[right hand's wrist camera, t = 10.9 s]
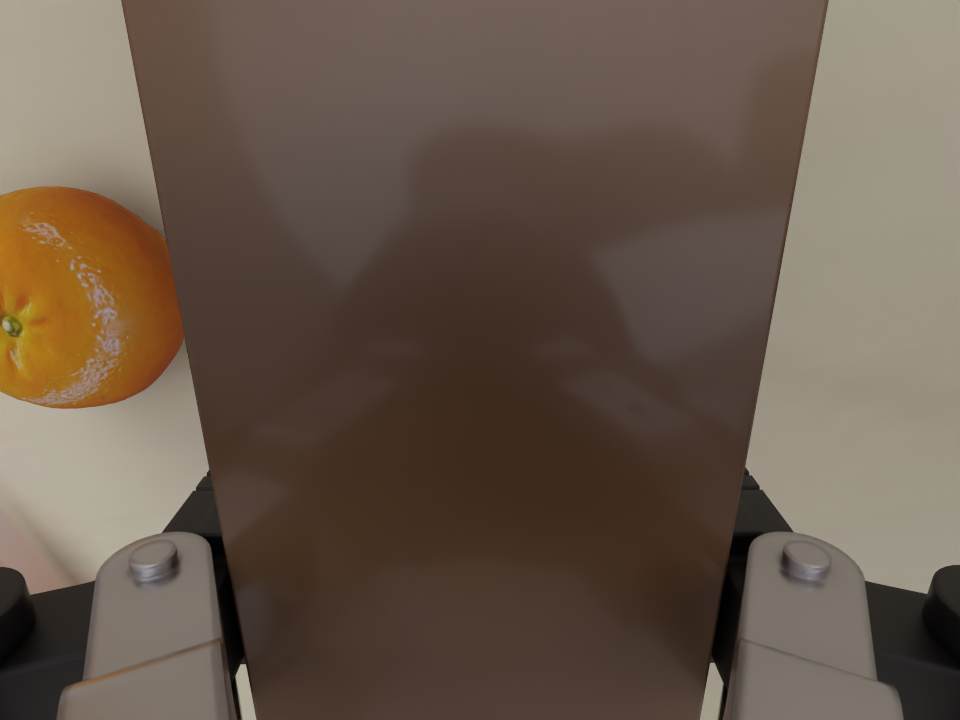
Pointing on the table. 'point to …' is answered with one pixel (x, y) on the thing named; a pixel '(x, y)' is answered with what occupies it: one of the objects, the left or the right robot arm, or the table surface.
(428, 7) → the box
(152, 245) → the fruit
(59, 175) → the table surface
